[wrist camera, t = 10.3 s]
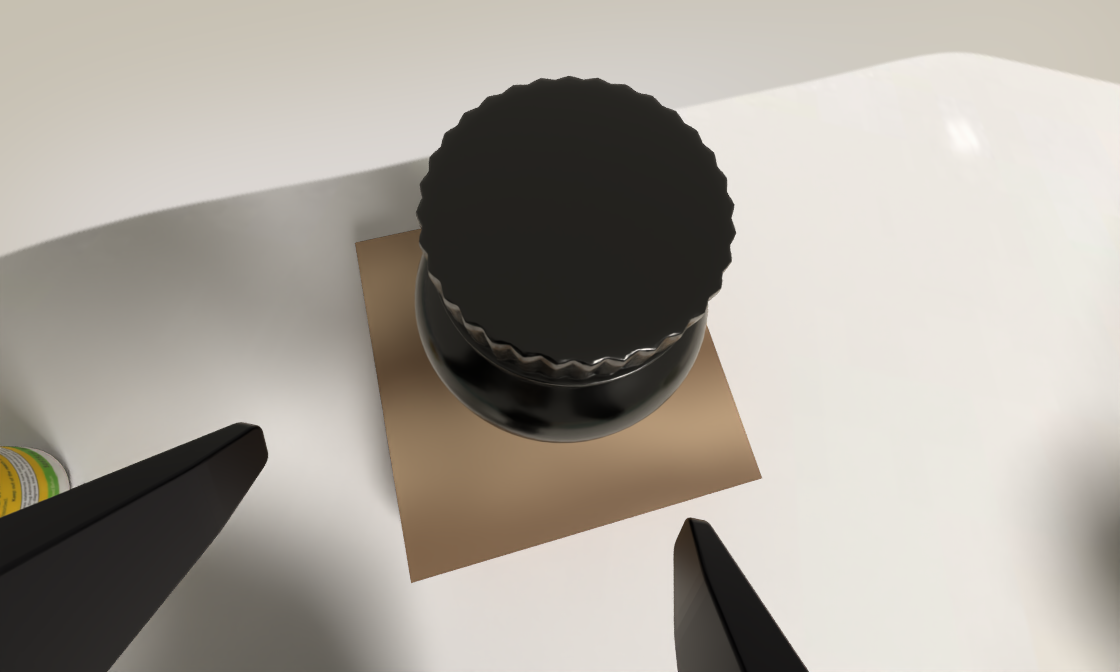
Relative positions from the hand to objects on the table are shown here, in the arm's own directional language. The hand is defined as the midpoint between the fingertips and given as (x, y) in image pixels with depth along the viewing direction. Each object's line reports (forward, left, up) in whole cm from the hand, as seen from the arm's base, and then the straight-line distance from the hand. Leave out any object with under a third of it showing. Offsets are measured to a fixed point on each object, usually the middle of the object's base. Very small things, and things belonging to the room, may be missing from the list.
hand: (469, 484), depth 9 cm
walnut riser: (+4, -3, -12) cm, 13 cm away
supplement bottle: (+4, -3, -8) cm, 10 cm away
